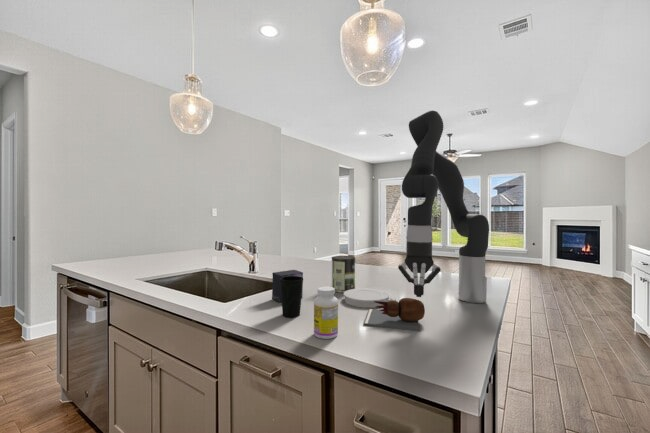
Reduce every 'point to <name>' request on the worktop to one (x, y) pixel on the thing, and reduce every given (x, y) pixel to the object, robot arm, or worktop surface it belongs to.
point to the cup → (291, 295)
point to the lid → (366, 297)
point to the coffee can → (343, 273)
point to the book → (388, 321)
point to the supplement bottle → (326, 313)
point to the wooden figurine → (403, 309)
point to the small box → (276, 282)
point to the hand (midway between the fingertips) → (418, 296)
